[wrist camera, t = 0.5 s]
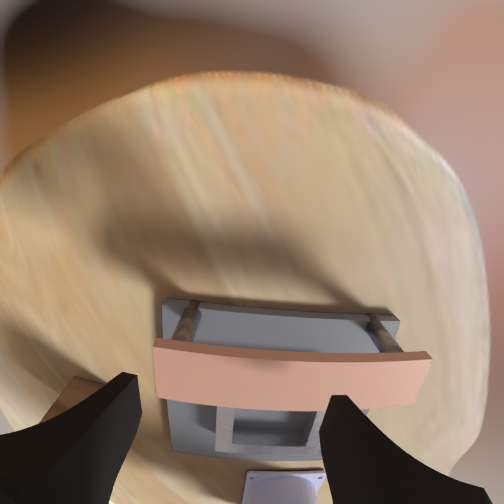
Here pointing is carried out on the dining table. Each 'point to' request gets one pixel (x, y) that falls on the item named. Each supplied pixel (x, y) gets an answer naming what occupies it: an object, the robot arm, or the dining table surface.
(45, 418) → the walnut peg
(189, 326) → the socket board
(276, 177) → the dining table surface
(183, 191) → the dining table surface
